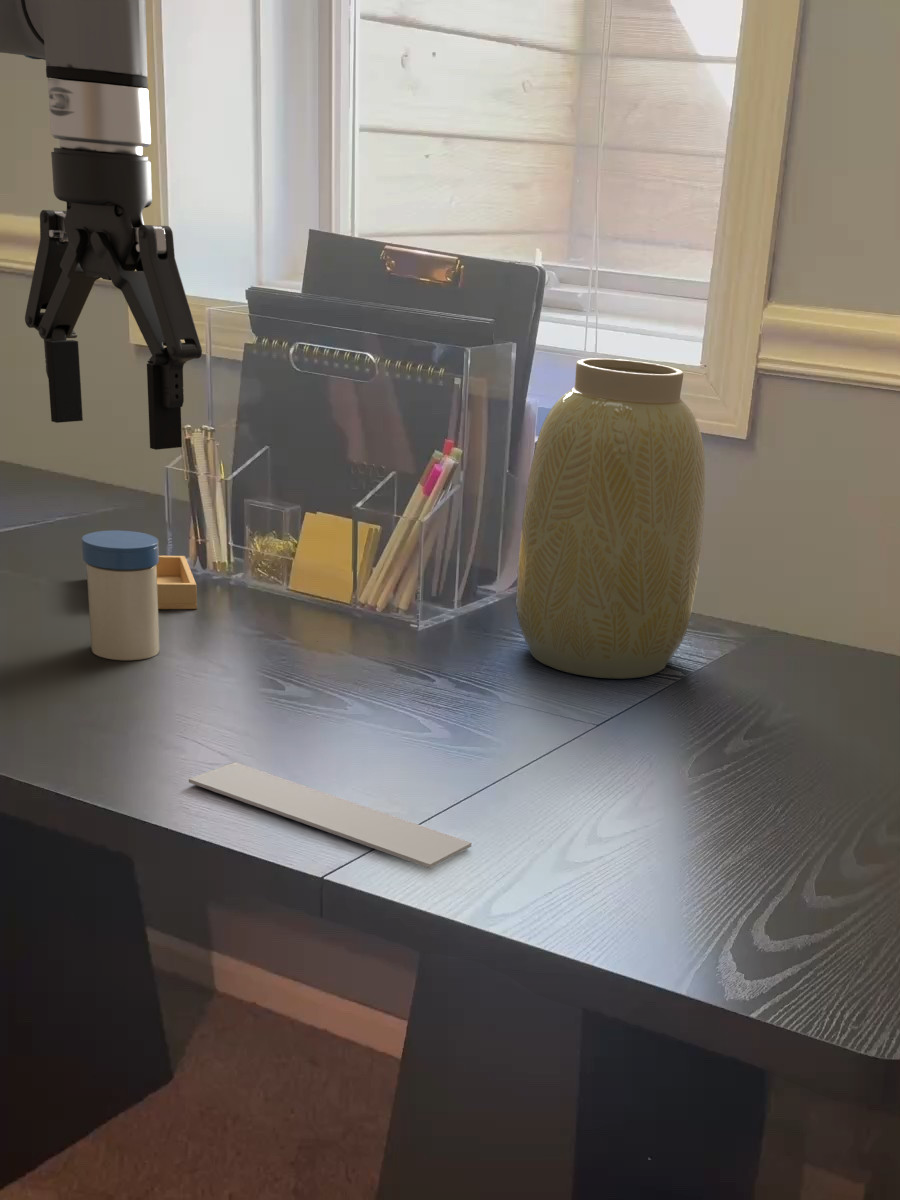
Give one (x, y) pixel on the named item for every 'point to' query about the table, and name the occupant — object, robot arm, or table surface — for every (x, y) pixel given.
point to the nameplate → (332, 814)
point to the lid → (120, 550)
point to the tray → (175, 584)
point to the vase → (612, 523)
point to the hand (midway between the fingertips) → (115, 434)
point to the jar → (123, 612)
